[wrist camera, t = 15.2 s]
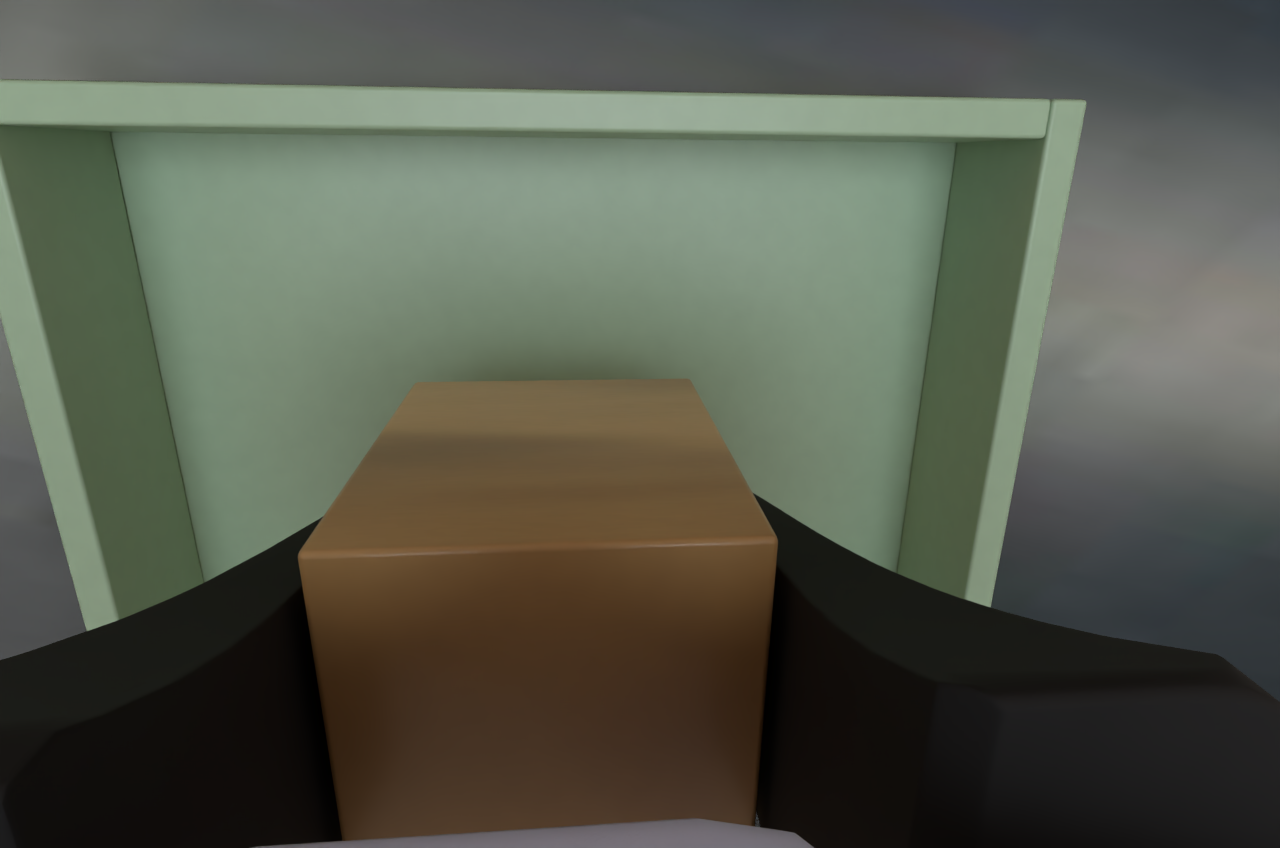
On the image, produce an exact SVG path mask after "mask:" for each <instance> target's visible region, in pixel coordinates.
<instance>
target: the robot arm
mask: <svg viewBox="0 0 1280 848" xmlns="http://www.w3.org/2000/svg"><path fill="white" fill-rule="evenodd" d="M753 495H754V496H755V498H756V500H757V502H758V504H759V505H760V507H761V509H762V511H763V513H764V515H765V516H766V518H767V520H768V522H769V524H770V525H771V527H772V529H773V531H774V533H775V535H776V536H777V539H778V549H777V562H776V574H775V586H774V598H773V611H772V623H771V635H770V647H769V660H768V672H767V684H766V696H765V709H764V721H763V733H762V745H761V758H760V770H759V782H758V794H757V807H756V811H757V814H758V818H759V822H760V827H755V826H748V825H741V824H734V823H727V822H720V821H713V820H707V819H700V818H687V819H672V820H657V821H641V822H626V823H611V824H595V825H580V826H564V827H549V828H534V829H518V830H503V831H488V832H472V833H457V834H441V835H426V836H411V837H395V838H380V839H364V840H349V841H342V835H341V829H340V822H339V816H338V810H337V803H336V797H335V791H334V784H333V778H332V771H331V765H330V759H329V752H328V746H327V740H326V733H325V727H324V721H323V714H322V708H321V702H320V695H319V689H318V683H317V676H316V670H315V664H314V657H313V651H312V645H311V638H310V632H309V626H308V619H307V613H306V606H305V600H304V594H303V587H302V581H301V575H300V568H299V562H298V554H299V551H300V550H301V548H302V547H303V545H304V544H305V542H306V541H307V540H308V538H309V537H310V535H311V534H312V532H313V531H314V529H315V528H316V526H317V525H318V524H319V522H320V521H321V519H322V518H323V517H321V518H320V519H318V520H316V521H315V522H313V523H311V524H310V525H308V526H306V527H304V528H303V529H301V530H299V531H298V532H296V533H294V534H292V535H291V536H289V537H287V538H286V539H284V540H282V541H281V542H279V543H277V544H275V545H274V546H272V547H270V548H268V549H267V550H265V551H263V552H261V553H259V554H257V555H255V556H254V557H252V558H250V559H248V560H246V561H244V562H242V563H240V564H239V565H237V566H235V567H233V568H231V569H229V570H227V571H225V572H224V573H222V574H220V575H218V576H216V577H214V578H212V579H210V580H208V581H206V582H204V583H202V584H200V585H198V586H196V587H194V588H192V589H190V590H188V591H185V592H183V593H181V594H179V595H177V596H175V597H172V598H170V599H168V600H165V601H163V602H161V603H158V604H156V605H154V606H151V607H149V608H147V609H144V610H142V611H140V612H137V613H135V614H132V615H130V616H127V617H125V618H122V619H120V620H117V621H115V622H112V623H109V624H106V625H103V626H101V627H98V628H95V629H92V630H89V631H86V632H83V633H81V634H78V635H75V636H72V637H69V638H66V639H64V640H61V641H58V642H55V643H52V644H49V645H46V646H44V647H41V648H38V649H35V650H32V651H29V652H26V653H23V654H20V655H16V656H13V657H10V658H6V659H3V660H0V848H1280V702H1279V701H1278V700H1276V699H1275V698H1274V697H1272V696H1271V695H1270V694H1269V693H1267V692H1266V691H1265V690H1263V689H1262V688H1261V687H1260V686H1258V685H1257V684H1256V683H1255V682H1253V681H1252V680H1251V679H1249V678H1248V677H1247V676H1246V675H1244V674H1243V673H1242V672H1240V671H1239V670H1238V669H1237V668H1235V667H1234V666H1233V665H1232V664H1230V663H1229V662H1228V661H1226V660H1225V659H1224V658H1222V657H1221V656H1219V655H1216V654H1211V653H1205V652H1198V651H1192V650H1186V649H1180V648H1174V647H1167V646H1161V645H1155V644H1149V643H1143V642H1137V641H1130V640H1124V639H1118V638H1112V637H1107V636H1102V635H1097V634H1092V633H1088V632H1084V631H1079V630H1075V629H1070V628H1066V627H1062V626H1057V625H1053V624H1049V623H1044V622H1040V621H1036V620H1033V619H1029V618H1025V617H1021V616H1018V615H1014V614H1010V613H1007V612H1003V611H1000V610H997V609H994V608H991V607H987V606H984V605H981V604H978V603H975V602H972V601H969V600H965V599H962V598H959V597H956V596H953V595H951V594H948V593H945V592H942V591H939V590H937V589H934V588H931V587H929V586H926V585H924V584H922V583H919V582H917V581H914V580H912V579H910V578H907V577H905V576H902V575H900V574H898V573H895V572H893V571H890V570H888V569H886V568H884V567H882V566H880V565H878V564H875V563H873V562H871V561H869V560H867V559H865V558H864V557H862V556H860V555H858V554H856V553H854V552H852V551H850V550H848V549H846V548H844V547H842V546H840V545H839V544H837V543H835V542H833V541H832V540H830V539H828V538H826V537H824V536H823V535H821V534H819V533H818V532H816V531H814V530H813V529H811V528H809V527H808V526H806V525H804V524H803V523H801V522H799V521H798V520H796V519H795V518H793V517H791V516H790V515H788V514H786V513H785V512H783V511H782V510H780V509H779V508H777V507H775V506H774V505H772V504H771V503H769V502H767V501H766V500H764V499H762V498H761V497H759V496H758V495H756V494H754V493H753Z"/></svg>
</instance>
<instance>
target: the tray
mask: <svg viewBox="0 0 1280 848" xmlns="http://www.w3.org/2000/svg"><path fill="white" fill-rule="evenodd" d="M1085 109H1086V101H1084V100H1082V99H1050V100H1048V99H1037V98H984V97H930V96H877V95H823V94H769V93H716V92H662V91H608V90H555V89H501V88H447V87H394V86H340V85H286V84H233V83H179V82H125V81H72V80H18V79H0V317H1V321H2V324H3V328H4V332H5V335H6V339H7V342H8V346H9V350H10V353H11V357H12V361H13V364H14V368H15V372H16V375H17V379H18V383H19V386H20V390H21V393H22V397H23V401H24V404H25V408H26V412H27V415H28V419H29V423H30V426H31V430H32V434H33V437H34V441H35V444H36V448H37V452H38V455H39V459H40V463H41V466H42V470H43V474H44V477H45V481H46V484H47V488H48V492H49V495H50V499H51V503H52V506H53V510H54V514H55V517H56V521H57V525H58V528H59V532H60V535H61V539H62V543H63V546H64V550H65V554H66V557H67V561H68V565H69V568H70V572H71V576H72V579H73V583H74V586H75V590H76V594H77V597H78V601H79V605H80V608H81V612H82V616H83V619H84V623H85V626H86V630H87V631H89V630H92V629H95V628H98V627H101V626H103V625H106V624H109V623H112V622H115V621H117V620H120V619H122V618H125V617H127V616H130V615H132V614H135V613H137V612H140V611H142V610H144V609H147V608H149V607H151V606H154V605H156V604H158V603H161V602H163V601H165V600H168V599H170V598H172V597H175V596H177V595H179V594H181V593H183V592H185V591H188V590H190V589H192V588H194V587H196V586H198V585H200V584H202V583H204V582H206V581H208V580H210V579H212V578H214V577H216V576H218V575H220V574H222V573H224V572H225V571H227V570H229V569H231V568H233V567H235V566H237V565H239V564H240V563H242V562H244V561H246V560H248V559H250V558H252V557H254V556H255V555H257V554H259V553H261V552H263V551H265V550H267V549H268V548H270V547H272V546H274V545H275V544H277V543H279V542H281V541H282V540H284V539H286V538H287V537H289V536H291V535H292V534H294V533H296V532H298V531H299V530H301V529H303V528H304V527H306V526H308V525H310V524H311V523H313V522H315V521H316V520H318V519H320V518H321V517H323V516H324V515H325V513H326V512H327V510H328V509H329V507H330V506H331V505H332V503H333V502H334V500H335V499H336V497H337V496H338V494H339V493H340V491H341V490H342V489H343V487H344V486H345V484H346V483H347V481H348V480H349V478H350V477H351V475H352V474H353V473H354V471H355V470H356V468H357V467H358V465H359V464H360V462H361V461H362V459H363V458H364V457H365V455H366V454H367V452H368V451H369V449H370V448H371V446H372V445H373V443H374V442H375V440H376V439H377V438H378V436H379V435H380V433H381V432H382V430H383V429H384V427H385V426H386V424H387V423H388V422H389V420H390V419H391V417H392V416H393V414H394V413H395V411H396V410H397V408H398V407H399V406H400V404H401V403H402V401H403V400H404V398H405V397H406V395H407V394H408V392H409V391H410V390H411V388H412V387H413V385H414V384H415V383H417V382H463V381H539V380H614V379H690V380H691V382H692V384H693V385H694V387H695V389H696V391H697V393H698V395H699V396H700V398H701V400H702V402H703V404H704V405H705V407H706V409H707V411H708V413H709V415H710V416H711V418H712V420H713V422H714V424H715V425H716V427H717V429H718V431H719V433H720V435H721V436H722V438H723V440H724V442H725V444H726V445H727V447H728V449H729V451H730V453H731V455H732V456H733V458H734V460H735V462H736V464H737V465H738V467H739V469H740V471H741V473H742V475H743V476H744V478H745V480H746V482H747V484H748V485H749V487H750V489H751V491H752V493H754V494H756V495H758V496H759V497H761V498H762V499H764V500H766V501H767V502H769V503H771V504H772V505H774V506H775V507H777V508H779V509H780V510H782V511H783V512H785V513H786V514H788V515H790V516H791V517H793V518H795V519H796V520H798V521H799V522H801V523H803V524H804V525H806V526H808V527H809V528H811V529H813V530H814V531H816V532H818V533H819V534H821V535H823V536H824V537H826V538H828V539H830V540H832V541H833V542H835V543H837V544H839V545H840V546H842V547H844V548H846V549H848V550H850V551H852V552H854V553H856V554H858V555H860V556H862V557H864V558H865V559H867V560H869V561H871V562H873V563H875V564H878V565H880V566H882V567H884V568H886V569H888V570H890V571H893V572H895V573H898V574H900V575H902V576H905V577H907V578H910V579H912V580H914V581H917V582H919V583H922V584H924V585H926V586H929V587H931V588H934V589H937V590H939V591H942V592H945V593H948V594H951V595H953V596H956V597H959V598H962V599H965V600H969V601H972V602H975V603H978V604H981V605H984V606H987V607H991V602H992V596H993V591H994V586H995V581H996V576H997V570H998V565H999V560H1000V555H1001V549H1002V544H1003V539H1004V534H1005V528H1006V523H1007V518H1008V513H1009V507H1010V502H1011V497H1012V492H1013V486H1014V481H1015V476H1016V471H1017V465H1018V460H1019V455H1020V450H1021V444H1022V439H1023V434H1024V429H1025V423H1026V418H1027V413H1028V408H1029V402H1030V397H1031V392H1032V387H1033V381H1034V376H1035V371H1036V366H1037V361H1038V355H1039V350H1040V345H1041V340H1042V334H1043V329H1044V324H1045V319H1046V313H1047V308H1048V303H1049V298H1050V292H1051V287H1052V282H1053V277H1054V271H1055V266H1056V261H1057V256H1058V250H1059V245H1060V240H1061V235H1062V229H1063V224H1064V219H1065V214H1066V208H1067V203H1068V198H1069V193H1070V187H1071V182H1072V177H1073V172H1074V166H1075V161H1076V156H1077V151H1078V146H1079V140H1080V135H1081V130H1082V125H1083V119H1084V114H1085Z"/></svg>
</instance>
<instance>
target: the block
mask: <svg viewBox="0 0 1280 848" xmlns="http://www.w3.org/2000/svg"><path fill="white" fill-rule="evenodd" d="M777 549H778V539H777V536H776V535H775V533H774V531H773V529H772V527H771V525H770V524H769V522H768V520H767V518H766V516H765V515H764V513H763V511H762V509H761V507H760V505H759V504H758V502H757V500H756V498H755V496H754V495H753V493H752V491H751V489H750V487H749V485H748V484H747V482H746V480H745V478H744V476H743V475H742V473H741V471H740V469H739V467H738V465H737V464H736V462H735V460H734V458H733V456H732V455H731V453H730V451H729V449H728V447H727V445H726V444H725V442H724V440H723V438H722V436H721V435H720V433H719V431H718V429H717V427H716V425H715V424H714V422H713V420H712V418H711V416H710V415H709V413H708V411H707V409H706V407H705V405H704V404H703V402H702V400H701V398H700V396H699V395H698V393H697V391H696V389H695V387H694V385H693V384H692V382H691V380H690V379H614V380H539V381H463V382H417V383H415V384H414V385H413V387H412V388H411V390H410V391H409V392H408V394H407V395H406V397H405V398H404V400H403V401H402V403H401V404H400V406H399V407H398V408H397V410H396V411H395V413H394V414H393V416H392V417H391V419H390V420H389V422H388V423H387V424H386V426H385V427H384V429H383V430H382V432H381V433H380V435H379V436H378V438H377V439H376V440H375V442H374V443H373V445H372V446H371V448H370V449H369V451H368V452H367V454H366V455H365V457H364V458H363V459H362V461H361V462H360V464H359V465H358V467H357V468H356V470H355V471H354V473H353V474H352V475H351V477H350V478H349V480H348V481H347V483H346V484H345V486H344V487H343V489H342V490H341V491H340V493H339V494H338V496H337V497H336V499H335V500H334V502H333V503H332V505H331V506H330V507H329V509H328V510H327V512H326V513H325V515H324V516H323V518H322V519H321V521H320V522H319V524H318V525H317V526H316V528H315V529H314V531H313V532H312V534H311V535H310V537H309V538H308V540H307V541H306V542H305V544H304V545H303V547H302V548H301V550H300V551H299V554H298V562H299V568H300V575H301V581H302V587H303V594H304V600H305V606H306V613H307V619H308V626H309V632H310V638H311V645H312V651H313V657H314V664H315V670H316V676H317V683H318V689H319V695H320V702H321V708H322V714H323V721H324V727H325V733H326V740H327V746H328V752H329V759H330V765H331V771H332V778H333V784H334V791H335V797H336V803H337V810H338V816H339V822H340V829H341V835H342V841H349V840H364V839H380V838H395V837H411V836H426V835H441V834H457V833H472V832H488V831H503V830H518V829H534V828H549V827H564V826H580V825H595V824H611V823H626V822H641V821H657V820H672V819H687V818H700V819H707V820H713V821H720V822H727V823H734V824H741V825H748V826H755V819H756V807H757V794H758V782H759V770H760V758H761V745H762V733H763V721H764V709H765V696H766V684H767V672H768V660H769V647H770V635H771V623H772V611H773V598H774V586H775V574H776V562H777Z"/></svg>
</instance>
